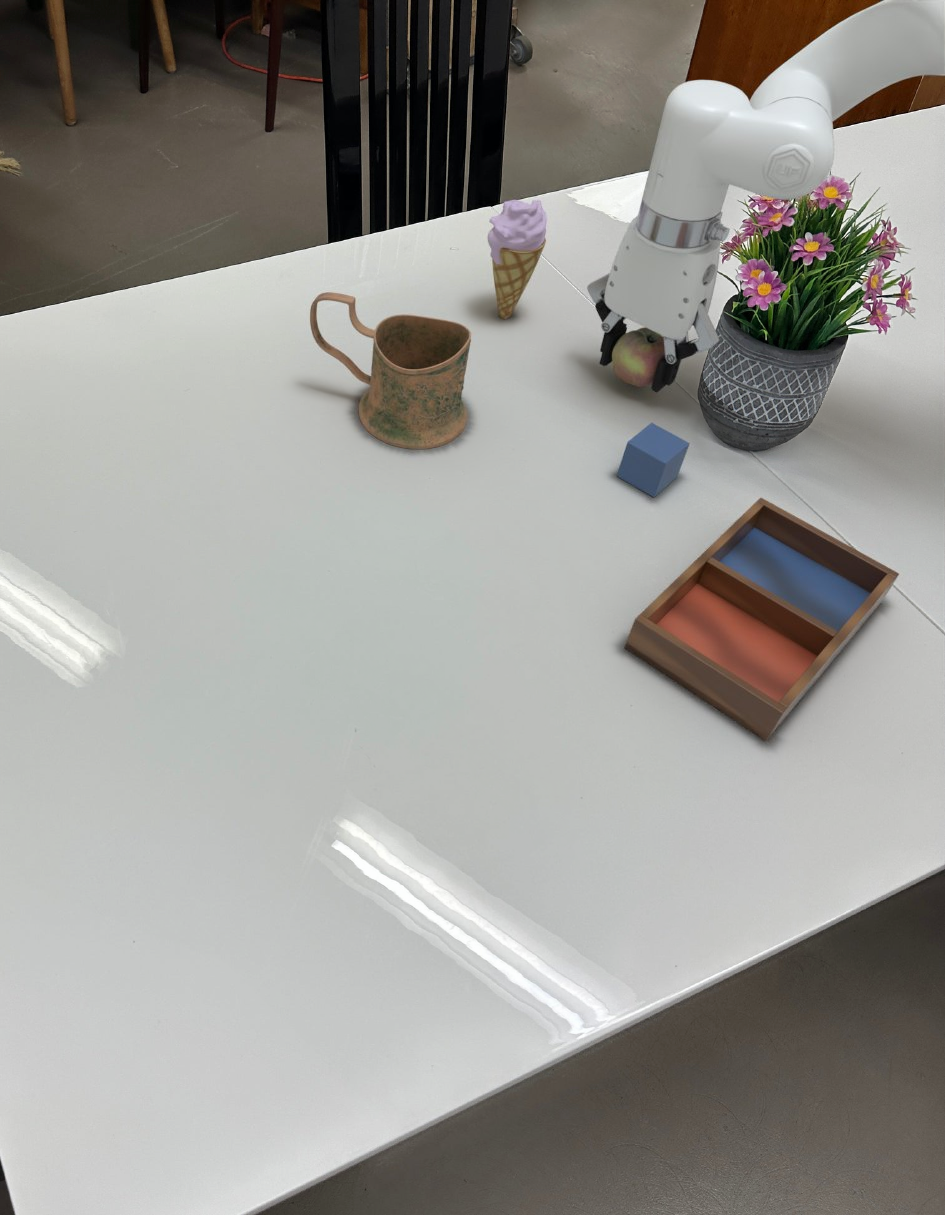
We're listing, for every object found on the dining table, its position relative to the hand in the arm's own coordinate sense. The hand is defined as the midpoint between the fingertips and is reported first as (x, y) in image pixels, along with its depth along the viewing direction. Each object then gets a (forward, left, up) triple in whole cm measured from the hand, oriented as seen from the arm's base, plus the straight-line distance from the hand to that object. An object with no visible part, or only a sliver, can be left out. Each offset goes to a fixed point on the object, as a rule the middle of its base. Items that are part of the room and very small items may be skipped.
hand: (635, 371), depth 119 cm
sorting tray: (+21, +27, -2) cm, 35 cm away
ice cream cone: (-1, -19, -2) cm, 19 cm away
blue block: (+11, +9, -2) cm, 15 cm away
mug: (+22, -17, -2) cm, 28 cm away
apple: (0, 0, -1) cm, 1 cm away
